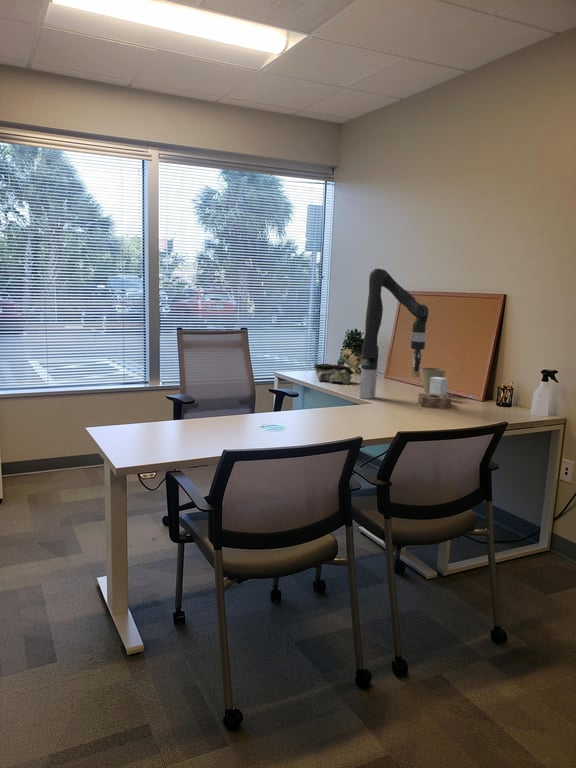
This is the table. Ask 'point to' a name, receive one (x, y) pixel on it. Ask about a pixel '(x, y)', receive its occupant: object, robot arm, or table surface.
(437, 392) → the small box
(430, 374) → the plant pot
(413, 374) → the beech peg
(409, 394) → the table surface
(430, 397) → the walnut board
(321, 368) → the mossy rock
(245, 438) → the table surface
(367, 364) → the robot arm
